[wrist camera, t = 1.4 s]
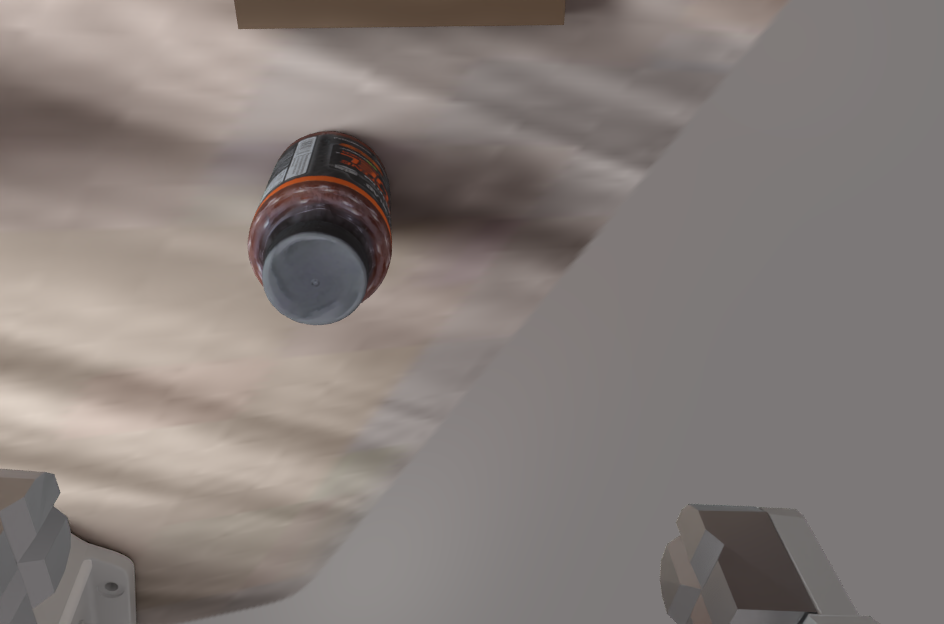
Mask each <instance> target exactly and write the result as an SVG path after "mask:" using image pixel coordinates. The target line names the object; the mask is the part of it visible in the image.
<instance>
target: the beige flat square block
mask: <svg viewBox="0 0 944 624" xmlns="http://www.w3.org/2000/svg"><path fill="white" fill-rule="evenodd" d="M234 2H235V9H236V16H237V23H238V29H275V28H353V27H432V26H511V25H564V16H565V0H234Z"/></svg>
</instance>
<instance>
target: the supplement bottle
mask: <svg viewBox="0 0 944 624" xmlns="http://www.w3.org/2000/svg"><path fill="white" fill-rule="evenodd" d="M390 208H391V207H390V189H389V180H388V178H387V174H386V171H385V168H384V166H383V164H382V163H381V161H380V159H379V158H378V156H377V155H376V154H375V153H374V151H373V150H372V149H371V148H370V147H368V146H367V145H366V144H364V143H363V142H361V141H360V140H358V139H356V138H354V137H352V136H349V135H346V134H343V133H337V132H334V131H327V132H317V133H313V134H309V135H307V136H304V137H302V138H300V139H298V140H296V141H295V142H294V143H292V144H291V145H290V146H289V147H288V148H287V149H286V150H285V151H284V153H283V154H282V156H281V157H280V158H279V160H278V162H277V164H276V166H275V168H274V170H273V173H272V175H271V177H270V180H269V182H268V185H267V187H266V190H265V192H264V194H263V197H262V199H261V202H260V204H259V206H258V209H257V211H256V213H255V216H254V218H253V221H252V224H251V227H250V231H249V238H248V253H249V260H250V263H251V266H252V269H253V271H254V273H255V275H256V277H257V278H258V280H259V281H260V283H261V284H262V286H263V287H264V290H265V293H266V295H267V297H268V299H269V301H270V302H271V303H272V305H273V306H274V307H275V308H276V309H277V310H278V311H279V312H280V313H281V314H283V315H285V316H287V317H288V318H290V319H292V320H294V321H296V322H299V323H305V324H310V325H325V324H331V323H334V322H337V321H340V320H342V319H343V318H345V317H347V316H348V315H350V314H351V313H352V312H353V311H355V309H356V308H357V307H358V306H359V304H360V303H362V302H363V301H364V300H366V299H367V298H369V297H370V296H371V295H372V294H373V293H374V292H375V291H376V289H377V288H378V287H379V286H380V284H381V283H382V281H383V279H384V278H385V276H386V274H387V270H388V268H389V264H390V260H391V255H392V235H391V215H390V212H391V209H390Z"/></svg>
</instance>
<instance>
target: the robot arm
mask: <svg viewBox="0 0 944 624" xmlns="http://www.w3.org/2000/svg"><path fill="white" fill-rule="evenodd" d="M59 494H60V490H59V487H58V484H57V481H56V478H55V475H54V474H51V473H47V472H37V471H24V470H11V469H0V624H136V599H135V571H134V564H133V562H132V561H131V560H130V559H129V558H128V557H126V556H125V555H123V554H120V553H118V552H115V551H112V550H109V549H106V548H103V547H100V546H96V545H93V544H89V543H87V542H85V541H83V540H81V539H80V538H78V537H76V536H75V535H73V534H72V533H71V530H70V526H69V522H68V518H67V517H66V516H65V515H64V514H63V513H61V512H60V511H59V510H58V509H56V508H55V507H54V506H53V505H54V503H55V502H56V500H57V498H58V496H59ZM676 523H677V526H678V529H679V532H680V536H678V537H677V538H675V539H674V540H672V541H671V542H669V543H668V544H667V546H666V548H665V551H664V554H663V557H662V559H661V570H660V584H661V591H662V597H663V601H664V604H665V608H666V611H667V614H668V615H669V616H670V617H671V618H672V619H673V620H674V621H675V622H676V623H677V624H879V623H878V622H877V621H876V620H874V619H873V618H872V617H870V616H860V615H859V614H858V612H857V610H856V608H855V606H854V605H853V603H852V601H851V599H850V597H849V596H848V594H847V592H846V590H845V589H844V587H843V585H842V583H841V581H840V580H839V578H838V576H837V574H836V572H835V571H834V569H833V567H832V565H831V564H830V562H829V560H828V558H827V556H826V554H825V553H824V551H823V549H822V548H821V546H820V544H819V542H818V540H817V538H816V537H815V535H814V533H813V531H812V529H811V528H810V526H809V524H808V523H807V520H806V519H805V517H804V516H803V515H802V514H801V513H800V512H799V511H798V510H796V509H787V508H786V509H785V508H765V507H759V508H757V507H751V506H726V505H699V504H688V505H687V506H686V507H685V508H683V509H682V510H681V513H680V515H679V517H678V520H677V522H676Z"/></svg>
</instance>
